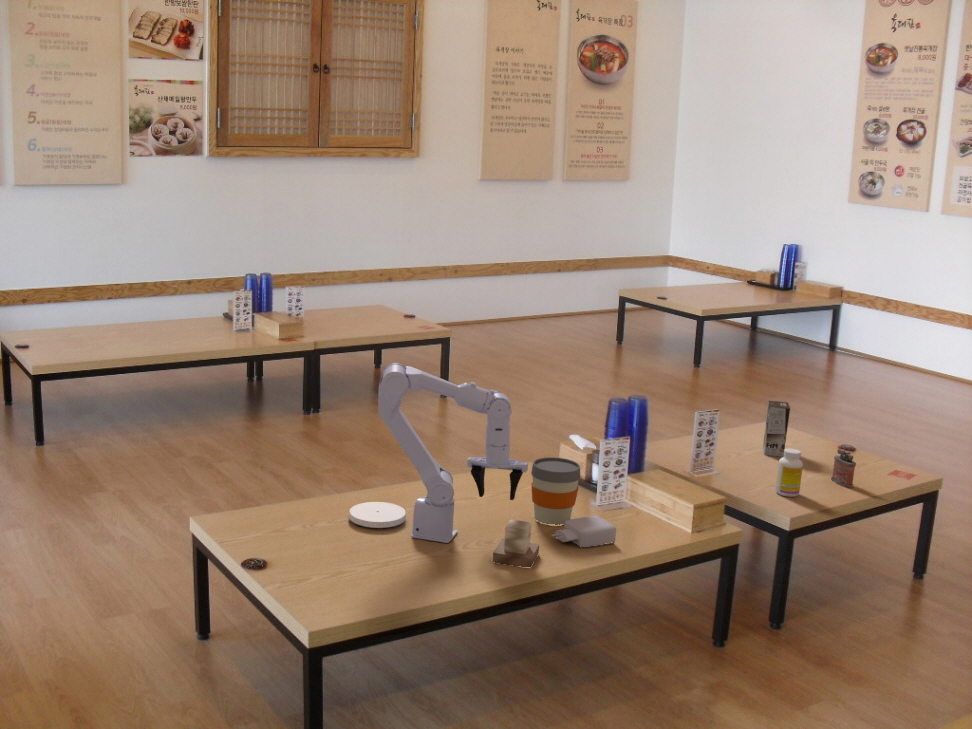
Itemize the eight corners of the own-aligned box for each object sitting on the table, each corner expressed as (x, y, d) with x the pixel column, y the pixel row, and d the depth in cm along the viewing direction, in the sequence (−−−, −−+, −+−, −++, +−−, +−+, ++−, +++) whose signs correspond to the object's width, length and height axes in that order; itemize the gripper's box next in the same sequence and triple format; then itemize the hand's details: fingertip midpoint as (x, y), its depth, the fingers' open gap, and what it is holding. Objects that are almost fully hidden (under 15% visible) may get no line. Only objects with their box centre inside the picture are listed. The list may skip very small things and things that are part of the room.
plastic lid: (376, 536, 262) (376, 526, 262) (337, 519, 271) (337, 510, 270) (416, 522, 273) (417, 512, 272) (378, 507, 281) (378, 497, 281)
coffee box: (784, 457, 347) (790, 408, 343) (763, 455, 348) (769, 406, 344) (782, 449, 355) (788, 401, 352) (762, 447, 356) (768, 399, 353)
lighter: (855, 487, 321) (860, 455, 319) (846, 488, 320) (850, 456, 318) (837, 478, 328) (841, 447, 326) (828, 479, 327) (832, 447, 325)
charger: (543, 539, 267) (593, 531, 274) (563, 553, 259) (614, 545, 266) (544, 521, 266) (595, 513, 273) (564, 534, 258) (616, 526, 265)
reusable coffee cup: (536, 530, 272) (540, 473, 268) (521, 512, 283) (525, 457, 280) (583, 528, 275) (588, 471, 272) (566, 510, 287) (571, 456, 284)
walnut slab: (492, 564, 250) (493, 552, 250) (501, 550, 259) (502, 538, 258) (530, 570, 248) (531, 558, 248) (538, 556, 257) (539, 544, 256)
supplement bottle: (803, 497, 310) (809, 454, 307) (783, 498, 308) (788, 454, 305) (790, 489, 316) (796, 447, 313) (770, 490, 314) (776, 447, 311)
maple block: (503, 551, 251) (505, 526, 250) (509, 543, 256) (510, 519, 254) (525, 554, 250) (526, 529, 248) (529, 546, 255) (531, 522, 253)
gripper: (464, 445, 258) (463, 499, 261) (523, 450, 254) (522, 505, 257) (471, 437, 264) (471, 490, 267) (530, 442, 261) (529, 495, 264)
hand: (497, 497), depth 263 cm, fingers open, 7 cm apart
